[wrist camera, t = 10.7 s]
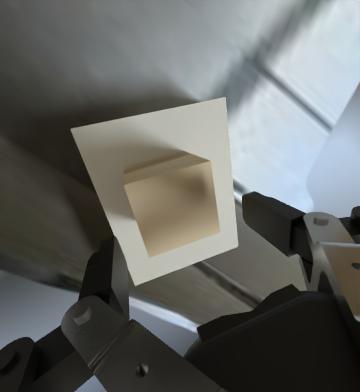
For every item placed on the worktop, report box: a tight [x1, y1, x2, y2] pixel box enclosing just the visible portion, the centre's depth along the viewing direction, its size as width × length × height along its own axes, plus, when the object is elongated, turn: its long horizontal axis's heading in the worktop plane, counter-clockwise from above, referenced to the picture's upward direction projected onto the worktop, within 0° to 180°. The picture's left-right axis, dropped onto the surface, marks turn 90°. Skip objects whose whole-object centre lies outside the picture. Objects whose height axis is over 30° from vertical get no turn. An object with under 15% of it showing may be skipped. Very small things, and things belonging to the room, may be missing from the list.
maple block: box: [124, 151, 220, 258], centre depth 16 cm, size 6×6×6 cm
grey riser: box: [70, 97, 238, 286], centre depth 22 cm, size 18×14×5 cm
